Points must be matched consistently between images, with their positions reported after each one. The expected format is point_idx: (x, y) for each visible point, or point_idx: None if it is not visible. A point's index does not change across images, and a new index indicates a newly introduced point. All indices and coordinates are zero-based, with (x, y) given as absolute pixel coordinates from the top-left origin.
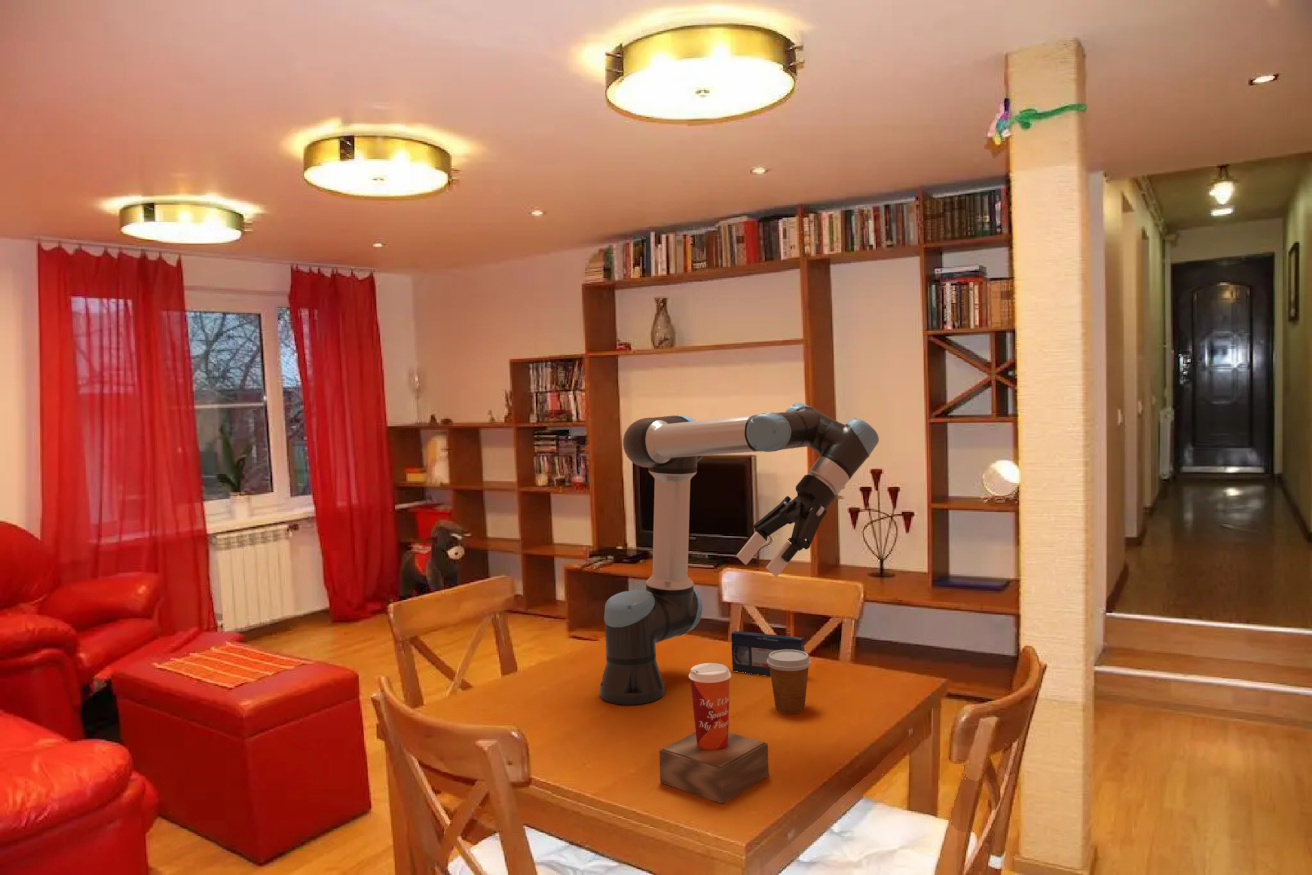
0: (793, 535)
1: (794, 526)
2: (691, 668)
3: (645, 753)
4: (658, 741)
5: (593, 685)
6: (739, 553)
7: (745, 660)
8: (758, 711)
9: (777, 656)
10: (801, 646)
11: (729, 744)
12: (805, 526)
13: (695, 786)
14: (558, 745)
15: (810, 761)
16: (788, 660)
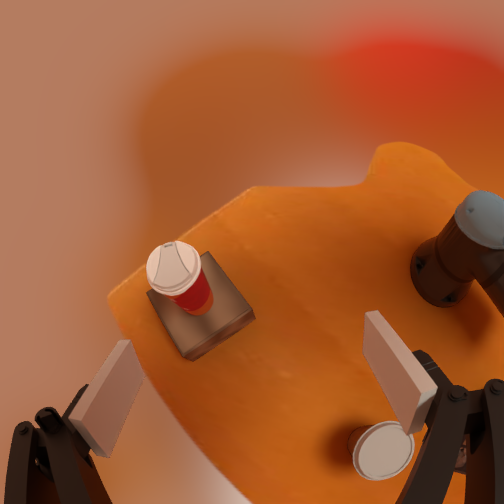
0: (62, 450)
1: (87, 501)
2: (181, 242)
3: (282, 263)
4: (309, 280)
5: None
6: (372, 318)
7: None
8: (368, 404)
9: (393, 437)
10: (464, 472)
11: (191, 316)
12: (12, 481)
13: None
14: (319, 199)
15: (210, 413)
16: (370, 449)
